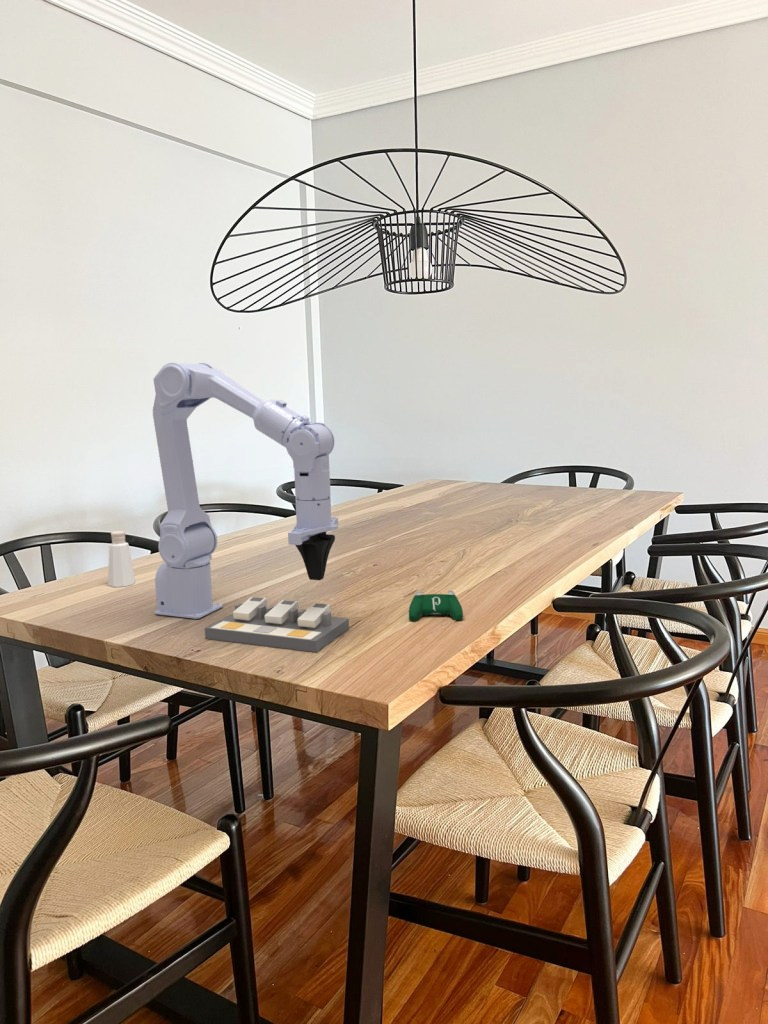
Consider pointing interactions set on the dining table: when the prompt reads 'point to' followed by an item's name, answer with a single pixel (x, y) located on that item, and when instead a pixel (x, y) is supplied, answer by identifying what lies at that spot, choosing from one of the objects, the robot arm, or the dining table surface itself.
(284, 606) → the block
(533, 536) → the dining table surface
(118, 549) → the salt shaker
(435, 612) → the gaming controller
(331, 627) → the switch unit
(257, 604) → the rocker
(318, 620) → the block
